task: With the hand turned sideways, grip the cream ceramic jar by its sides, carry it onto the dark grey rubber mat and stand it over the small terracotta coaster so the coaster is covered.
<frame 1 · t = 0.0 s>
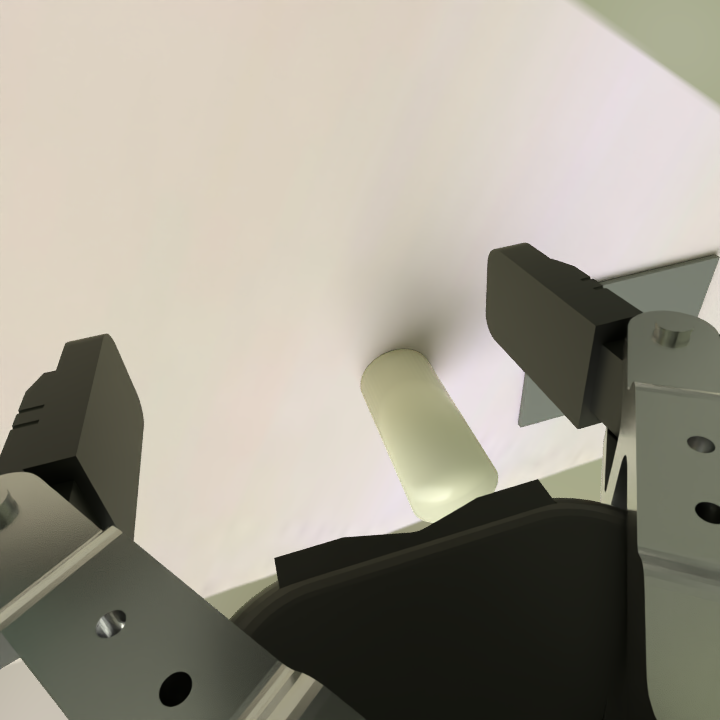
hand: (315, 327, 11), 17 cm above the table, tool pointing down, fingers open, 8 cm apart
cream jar: (395, 379, 37), on the table
grey mat: (610, 344, 41), on the table
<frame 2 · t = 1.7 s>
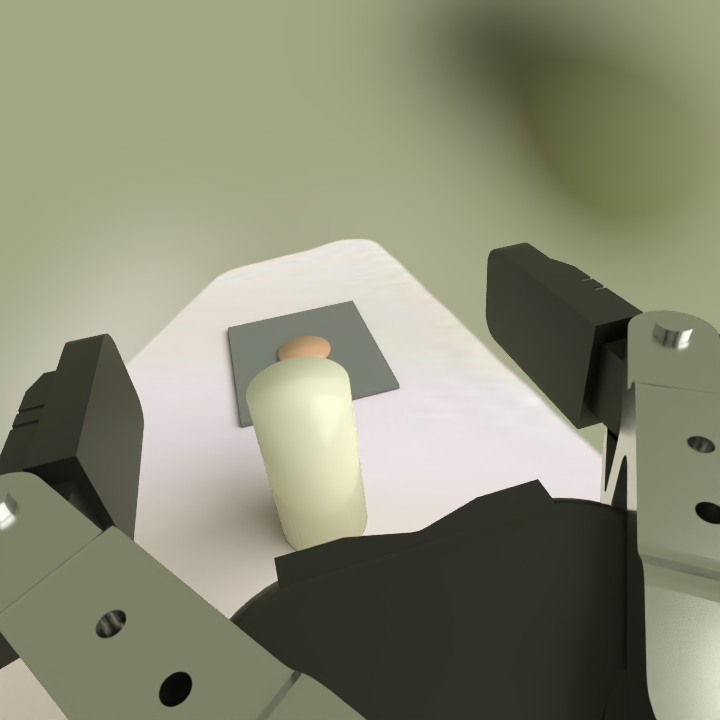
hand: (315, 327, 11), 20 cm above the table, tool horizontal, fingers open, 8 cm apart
coaster: (304, 353, 45), resting on grey mat
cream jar: (325, 519, 32), on the table
grey mat: (305, 356, 46), on the table
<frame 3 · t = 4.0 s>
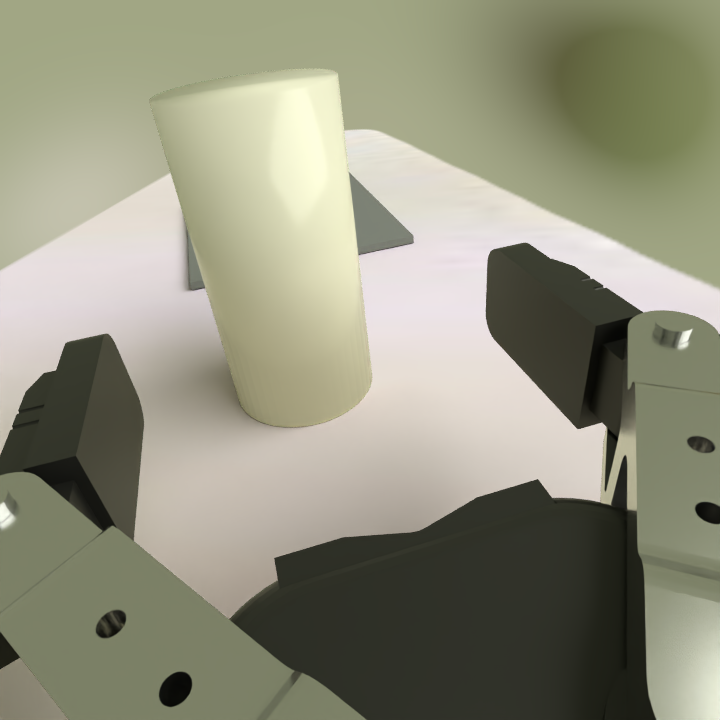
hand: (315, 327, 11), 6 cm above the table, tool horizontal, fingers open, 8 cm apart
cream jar: (305, 381, 20), on the table
grey mat: (285, 222, 34), on the table
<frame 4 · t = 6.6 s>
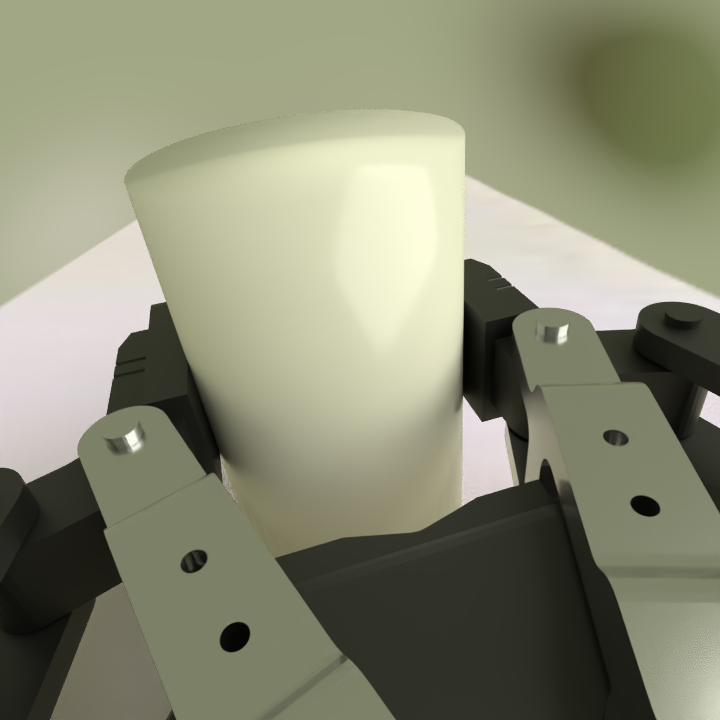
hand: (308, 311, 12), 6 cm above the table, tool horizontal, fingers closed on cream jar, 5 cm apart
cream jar: (362, 552, 14), on the table, touching gripper
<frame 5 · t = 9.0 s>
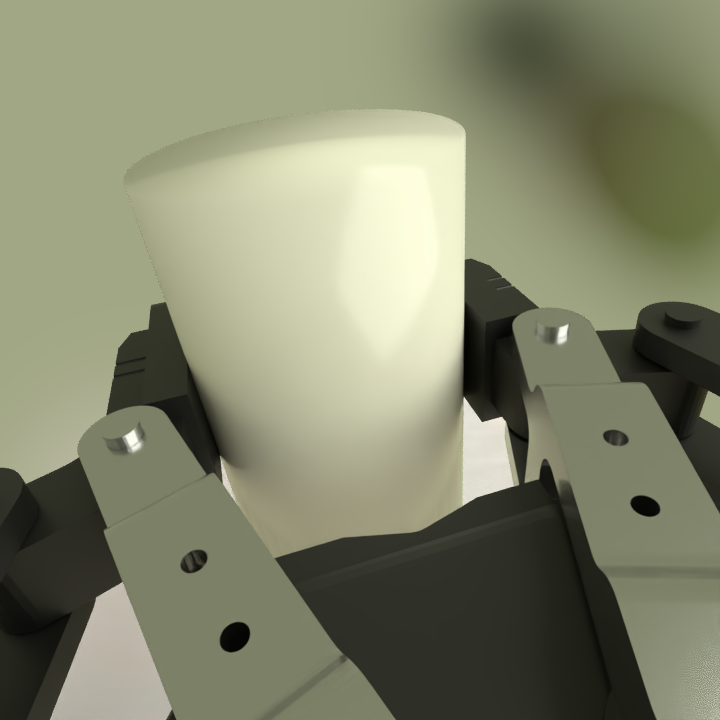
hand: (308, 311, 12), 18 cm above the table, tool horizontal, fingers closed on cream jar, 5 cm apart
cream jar: (362, 553, 14), point 12 cm above the table, touching gripper
when the fingers open (8 cm above the table, at t = 11.5 s): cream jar drops 1 cm, resting on coaster.
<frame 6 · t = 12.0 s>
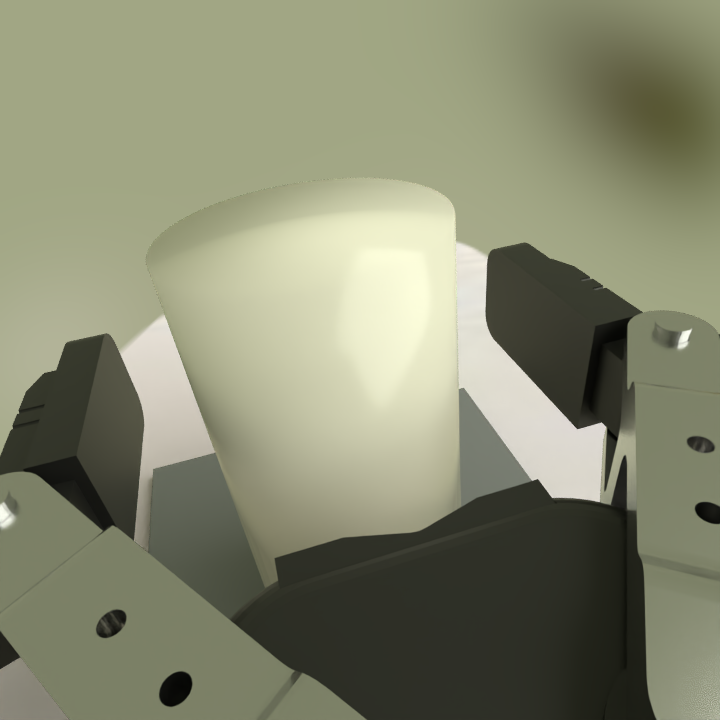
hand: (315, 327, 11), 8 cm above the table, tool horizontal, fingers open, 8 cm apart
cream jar: (367, 583, 14), point 1 cm above the table, touching coaster
grey mat: (368, 597, 15), on the table
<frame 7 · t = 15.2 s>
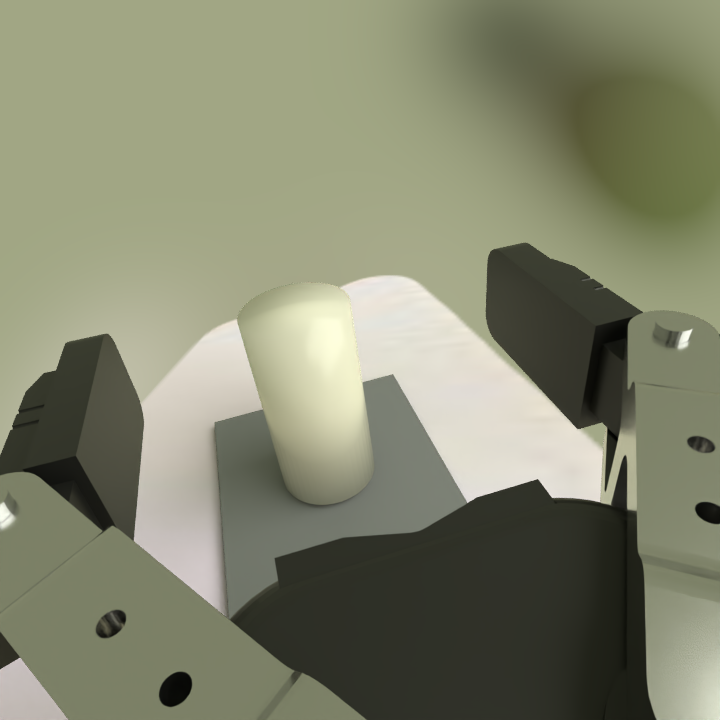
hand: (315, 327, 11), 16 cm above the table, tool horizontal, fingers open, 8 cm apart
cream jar: (328, 468, 29), point 1 cm above the table, touching coaster
grey mat: (330, 476, 30), on the table
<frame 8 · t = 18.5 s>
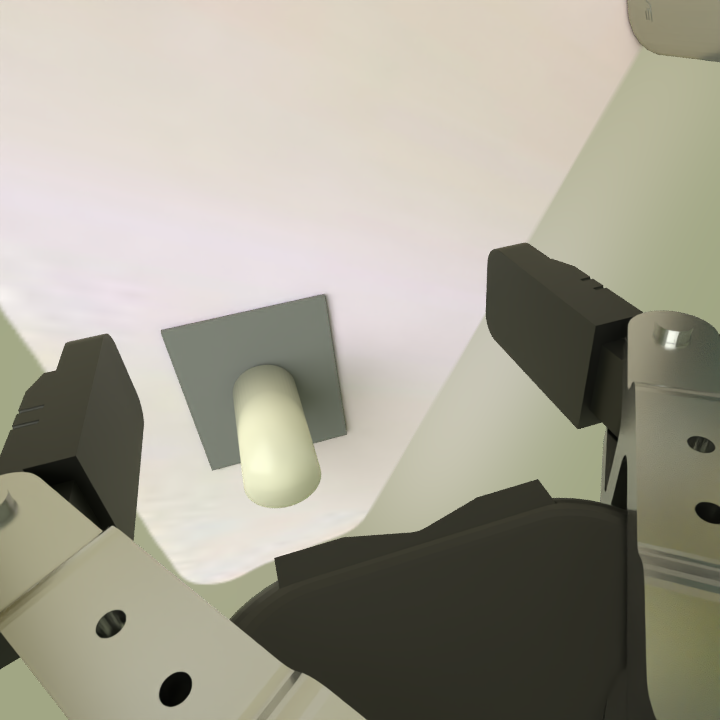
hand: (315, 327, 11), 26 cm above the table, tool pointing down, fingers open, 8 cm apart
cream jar: (264, 391, 43), point 1 cm above the table, touching coaster
grey mat: (263, 386, 44), on the table
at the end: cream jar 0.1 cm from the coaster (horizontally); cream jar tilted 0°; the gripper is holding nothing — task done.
